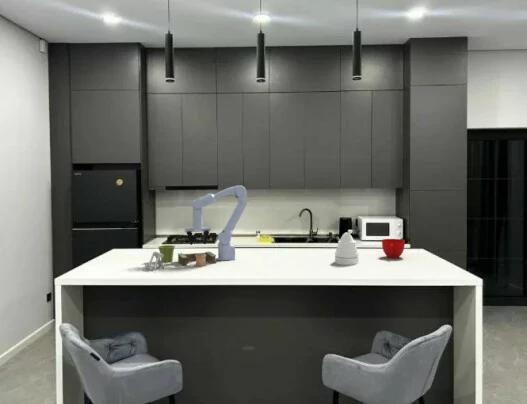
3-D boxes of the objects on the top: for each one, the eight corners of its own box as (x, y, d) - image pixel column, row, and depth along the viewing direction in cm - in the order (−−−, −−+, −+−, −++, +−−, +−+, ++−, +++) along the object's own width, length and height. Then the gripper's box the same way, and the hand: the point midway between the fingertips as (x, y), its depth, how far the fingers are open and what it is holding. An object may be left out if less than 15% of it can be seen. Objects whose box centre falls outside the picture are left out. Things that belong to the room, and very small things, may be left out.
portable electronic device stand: (144, 268, 235) (144, 252, 235) (158, 266, 240) (158, 251, 239) (151, 271, 228) (151, 254, 228) (165, 269, 233) (165, 253, 233)
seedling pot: (203, 264, 246) (203, 253, 245) (208, 266, 241) (207, 254, 240) (193, 265, 243) (193, 254, 242) (197, 267, 238) (197, 255, 237)
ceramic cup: (379, 259, 259) (379, 241, 259) (383, 254, 275) (383, 238, 274) (402, 260, 254) (403, 243, 254) (405, 256, 270) (405, 239, 270)
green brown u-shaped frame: (209, 259, 262) (209, 251, 262) (215, 263, 249) (215, 255, 249) (177, 261, 255) (177, 253, 255) (182, 265, 242) (182, 257, 242)
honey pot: (360, 261, 253) (361, 229, 252) (355, 265, 241) (355, 231, 241) (338, 259, 258) (338, 228, 258) (332, 263, 247) (332, 230, 246)
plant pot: (171, 263, 249) (171, 247, 249) (155, 262, 251) (155, 247, 251) (177, 260, 259) (177, 245, 258) (162, 259, 261) (162, 245, 260)
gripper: (208, 219, 263) (208, 242, 263) (183, 220, 257) (183, 244, 258) (211, 220, 256) (211, 244, 257) (186, 221, 251) (186, 245, 251)
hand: (197, 244), depth 257 cm, fingers open, 7 cm apart
